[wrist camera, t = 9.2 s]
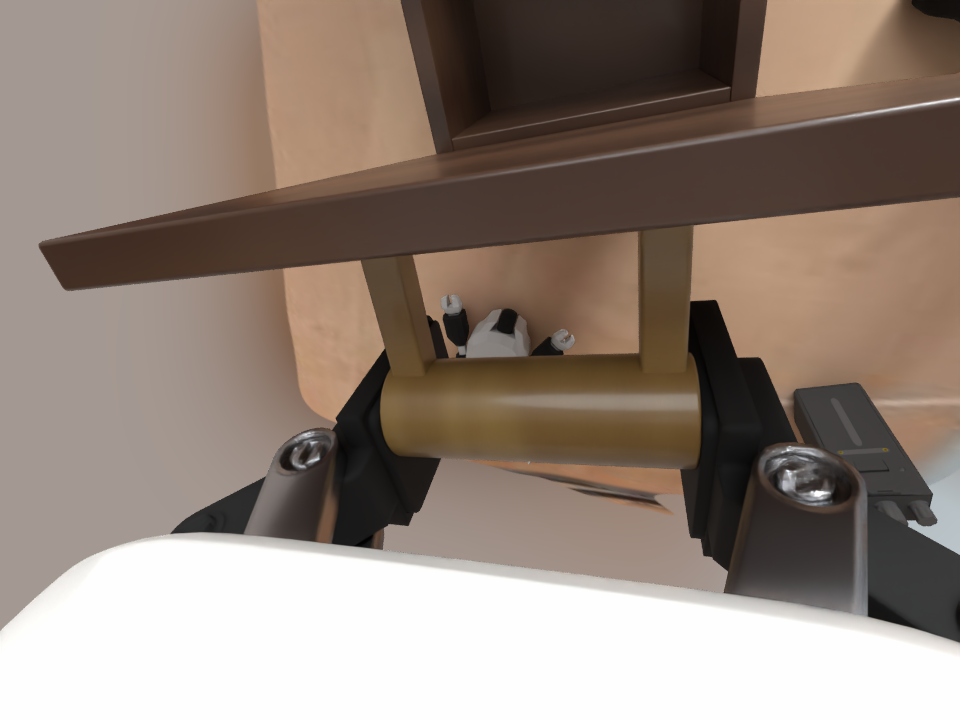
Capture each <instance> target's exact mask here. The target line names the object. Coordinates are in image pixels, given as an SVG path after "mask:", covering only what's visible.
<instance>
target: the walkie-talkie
mask: <svg viewBox="0 0 960 720" xmlns="http://www.w3.org/2000/svg"><path fill="white" fill-rule="evenodd" d="M794 419H795V423H796V425H797V427H798V429H799V431H800V434H801V436H802V438H803V440H804V443H805V444H810V445H814V446H817V447H820V448H823V449H826V450H828V451H830V452H832V453H834V454H836V455H838V456H840V457H842V458H843V459H845V460H846V461H847V462H848V463H850V464H851V465H852V466H853V467H855V468H856V470H857V471H858V472H859V474H860V475H861V476H862V478H863V479H864V481H865V485H866V489H867V504H868V505H870V506H872V507H874V508H875V509H877V510H879V511H881V512H883V513H885V514H886V515H888V516H890V517H892V518H894V519H895V520H897V521H899V522H901V523H903V524H904V525H906V526H908V522H907V520H916V521H917V523H918V524H920V525H922V526H932V525H934V524H936V523H937V518H936V517H935V515H934V514H933V512H932V511H931V510H930V504H931V500H932V496H933V493H932V492H931V490H930V489H929V487H928V486H927V484H926V483H925V481H924V480H923V478H922V477H921V475H920V474H919V472H918V471H917V469H916V468H915V466H914V465H913V463H912V462H911V460H910V459H909V457H908V455H907V454H906V452H905V451H904V449H903V448H902V446H901V445H900V443H899V442H898V440H897V439H896V437H895V436H894V434H893V433H892V431H891V430H890V428H889V427H888V425H887V424H886V422H885V421H884V419H883V418H882V416H881V415H880V413H879V412H878V410H877V409H876V407H875V405H874V404H873V402H872V401H871V399H870V398H869V396H868V395H867V393H866V392H865V390H864V389H863V388H862V386H861V385H860V384H858V383H849V384H840V385H831V386H822V387H812V388H803V389H796V391H795V392H794Z"/></svg>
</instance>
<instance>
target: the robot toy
mask: <svg viewBox="0 0 960 720" xmlns="http://www.w3.org/2000/svg"><path fill="white" fill-rule="evenodd" d="M450 297H451V300H452V303H450V300H449V295H445V296H443V297H442V298H441V307H442V309H443V310H444V311H445V314H444V315H443V322H444V326H445V330H446V334H447V337H448V338H449V339H450V340H451V341H452V342H453V343H454V344H455V345H456V346H457V347H458V351H459V352H458V353H457V354H456V358H480V357H517V356H529V352H530V348H531V347H530V337H529V336H528V334H527V324H526V321H525V320H524V319H523V318H522V317H521V316H520V315H519V316H518V319H517V322H516V325H515V321H516V318H517V313H516V312H515V311H514V310H512V309H504V310H503V311H502V309H499V310H492V311H491V312H490V314H489V315H488V316H487V317H486V319H485V320H483V321H481V322H479V323H478V325H477V326H476V327H475V329H474V330H473V332H472V334H471V337H470V339H469V341H468V344H467V346H466V342H467V338H468V334H469V324H468V320H467V315H466V311H465V309H462V305H463V304H462V302H461V300H460V298H459V296H458V295H456V294H452V295H451V296H450ZM501 311H502V313H501ZM500 313H501V316H500V318H499V315H500ZM498 318H499V319H498ZM567 335H568V331H567V330H565V329H561V330H559V331H557V332H555V333H554V334H553V337H552V338H551V337H548V338H547V339H546V340H545V341H543V342H542V343H541V344H540V345H539V346H538V347H537V348H536V349H535V350H534V351H533V352H532V355H531V356H554V355H563V354H564V353H563V350H567V349H570V348H571V347H572V346H573V344H574V343H575V338H574V336H573V335H572V334H571V335H570V336H569V337H568V338H567V339H565V340H564V339H563V338H564V337H565V336H567ZM527 464H530V462H527Z"/></svg>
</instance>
